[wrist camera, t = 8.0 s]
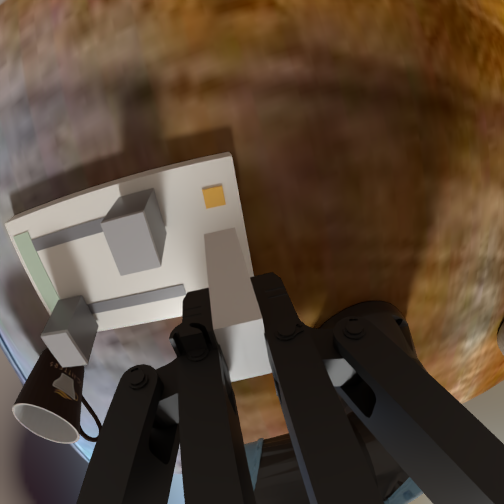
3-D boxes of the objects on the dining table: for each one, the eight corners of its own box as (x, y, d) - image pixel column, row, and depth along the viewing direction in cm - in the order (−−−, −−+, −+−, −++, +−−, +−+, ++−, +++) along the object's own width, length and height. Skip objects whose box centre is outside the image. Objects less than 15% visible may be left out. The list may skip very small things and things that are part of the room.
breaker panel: (229, 151, 25) (232, 156, 23) (254, 287, 32) (258, 300, 30) (14, 215, 23) (3, 224, 21) (67, 325, 30) (62, 338, 28)
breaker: (81, 294, 26) (65, 332, 21) (98, 325, 28) (87, 364, 23) (58, 299, 26) (40, 336, 21) (75, 329, 28) (62, 367, 23)
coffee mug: (23, 344, 30) (-1, 402, 22) (71, 336, 31) (49, 403, 22) (67, 397, 36) (55, 452, 27) (113, 394, 37) (106, 454, 28)
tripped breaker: (153, 187, 23) (143, 212, 18) (166, 233, 25) (161, 266, 20) (118, 197, 22) (100, 223, 18) (133, 241, 24) (120, 276, 20)
